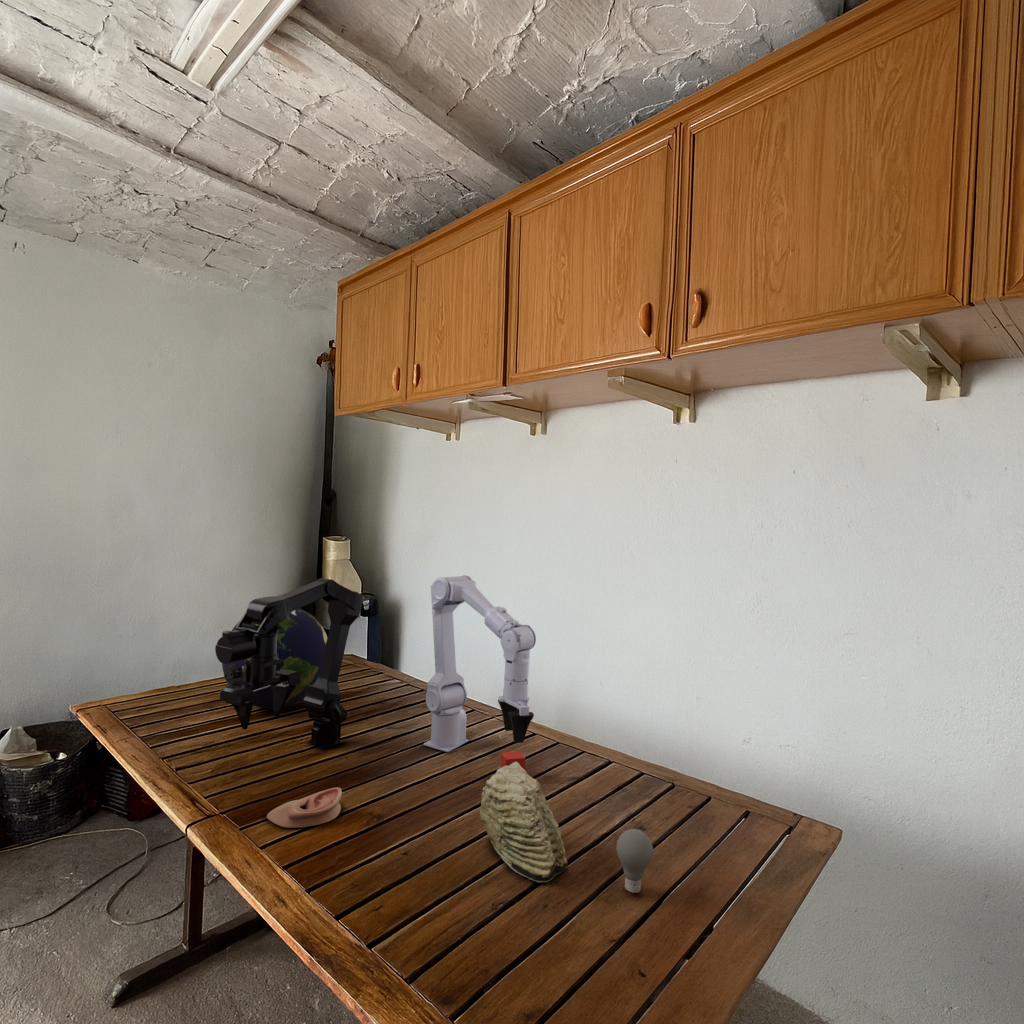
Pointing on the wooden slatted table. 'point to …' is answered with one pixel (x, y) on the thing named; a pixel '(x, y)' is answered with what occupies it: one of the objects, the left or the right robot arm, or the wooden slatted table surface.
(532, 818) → the fossil
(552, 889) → the wooden slatted table surface
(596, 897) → the wooden slatted table surface
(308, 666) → the globe
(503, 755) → the block
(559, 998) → the wooden slatted table surface
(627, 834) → the light bulb
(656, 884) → the wooden slatted table surface
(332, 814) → the anatomical model
